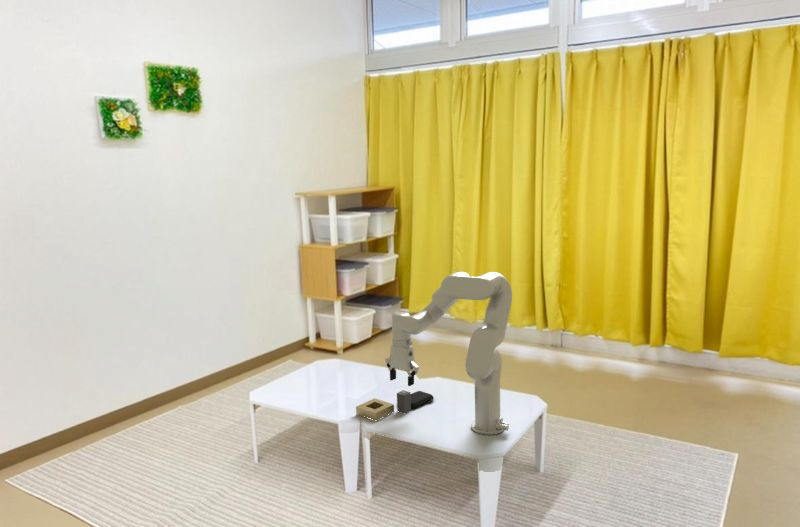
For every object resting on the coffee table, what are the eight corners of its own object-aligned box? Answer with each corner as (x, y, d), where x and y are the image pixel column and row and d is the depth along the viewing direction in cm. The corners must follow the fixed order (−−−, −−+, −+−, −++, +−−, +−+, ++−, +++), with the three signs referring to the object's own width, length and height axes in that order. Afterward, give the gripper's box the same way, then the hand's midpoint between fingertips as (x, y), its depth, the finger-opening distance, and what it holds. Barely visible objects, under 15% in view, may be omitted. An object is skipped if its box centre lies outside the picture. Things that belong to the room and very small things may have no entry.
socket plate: (394, 412, 229) (393, 404, 229) (375, 421, 221) (375, 413, 220) (374, 406, 236) (374, 398, 236) (356, 414, 228) (356, 406, 227)
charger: (411, 410, 230) (410, 391, 229) (404, 413, 227) (404, 394, 226) (403, 408, 233) (403, 389, 232) (397, 411, 230) (396, 392, 229)
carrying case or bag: (414, 412, 229) (437, 401, 240) (414, 405, 229) (437, 394, 239) (396, 405, 237) (419, 395, 247) (396, 399, 236) (419, 388, 247)
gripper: (423, 344, 223) (424, 384, 226) (391, 336, 234) (392, 375, 237) (411, 348, 217) (412, 390, 220) (379, 340, 229) (380, 380, 231)
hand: (401, 382), depth 229 cm, fingers open, 9 cm apart
